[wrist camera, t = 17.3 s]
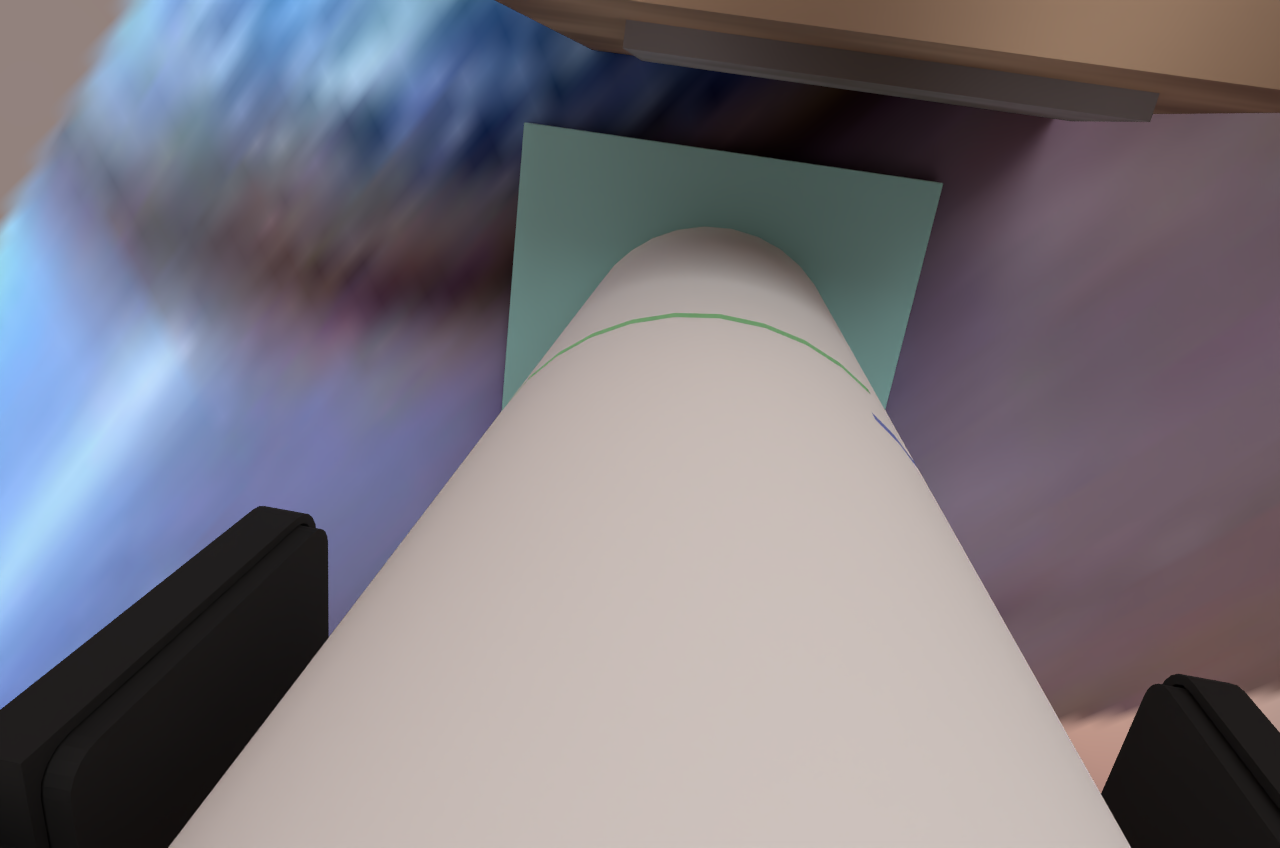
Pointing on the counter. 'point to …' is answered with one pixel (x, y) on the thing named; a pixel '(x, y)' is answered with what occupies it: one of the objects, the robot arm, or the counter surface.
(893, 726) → the cylindrical container
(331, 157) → the counter surface
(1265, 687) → the counter surface
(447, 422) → the counter surface
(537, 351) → the teal pad
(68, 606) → the counter surface
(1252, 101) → the walnut housing
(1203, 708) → the robot arm
